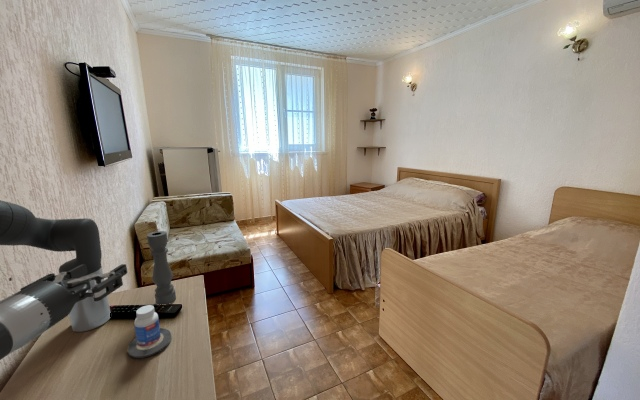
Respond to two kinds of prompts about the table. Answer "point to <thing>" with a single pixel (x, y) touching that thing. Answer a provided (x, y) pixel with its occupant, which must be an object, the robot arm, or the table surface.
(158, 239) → the candle holder
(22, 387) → the table surface
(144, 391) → the table surface
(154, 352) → the small round plate
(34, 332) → the robot arm
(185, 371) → the table surface
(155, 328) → the pill bottle
